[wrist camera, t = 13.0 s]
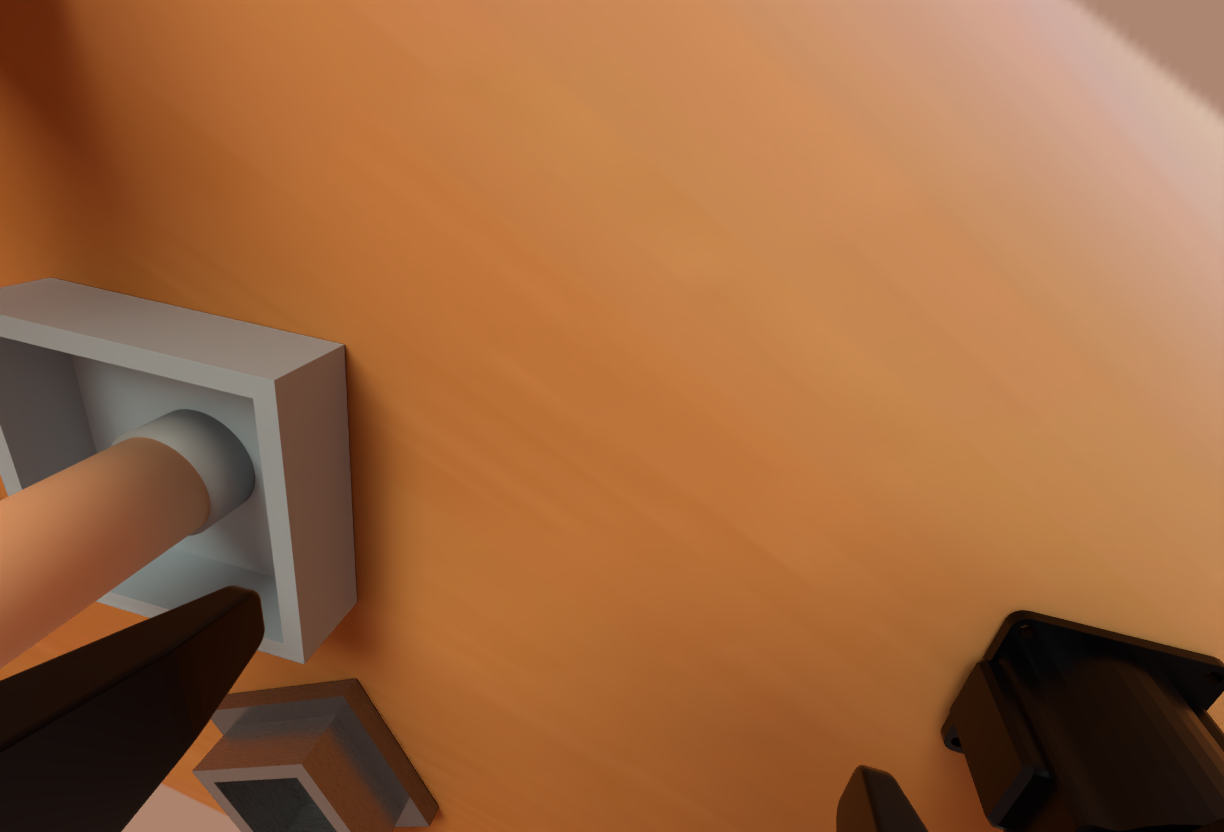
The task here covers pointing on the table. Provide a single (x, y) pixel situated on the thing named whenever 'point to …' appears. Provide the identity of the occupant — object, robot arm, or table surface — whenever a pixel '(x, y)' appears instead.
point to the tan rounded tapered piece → (112, 519)
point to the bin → (220, 387)
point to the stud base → (311, 763)
